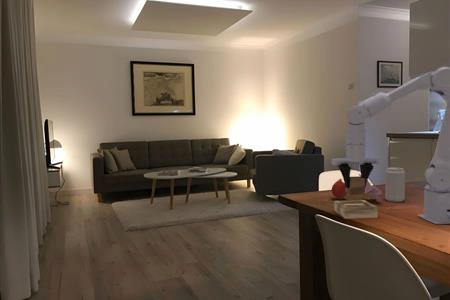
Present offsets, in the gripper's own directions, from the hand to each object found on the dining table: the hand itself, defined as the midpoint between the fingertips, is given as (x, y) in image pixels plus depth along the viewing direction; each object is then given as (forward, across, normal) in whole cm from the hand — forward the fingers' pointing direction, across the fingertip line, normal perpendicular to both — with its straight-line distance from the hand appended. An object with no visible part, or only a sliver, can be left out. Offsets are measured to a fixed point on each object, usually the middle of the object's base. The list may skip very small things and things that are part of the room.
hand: (355, 187), depth 118 cm
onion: (+9, -2, -22) cm, 23 cm away
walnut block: (+2, 0, 0) cm, 2 cm away
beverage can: (+9, -22, -18) cm, 29 cm away
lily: (+9, -12, -17) cm, 23 cm away
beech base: (+9, 0, 0) cm, 9 cm away
